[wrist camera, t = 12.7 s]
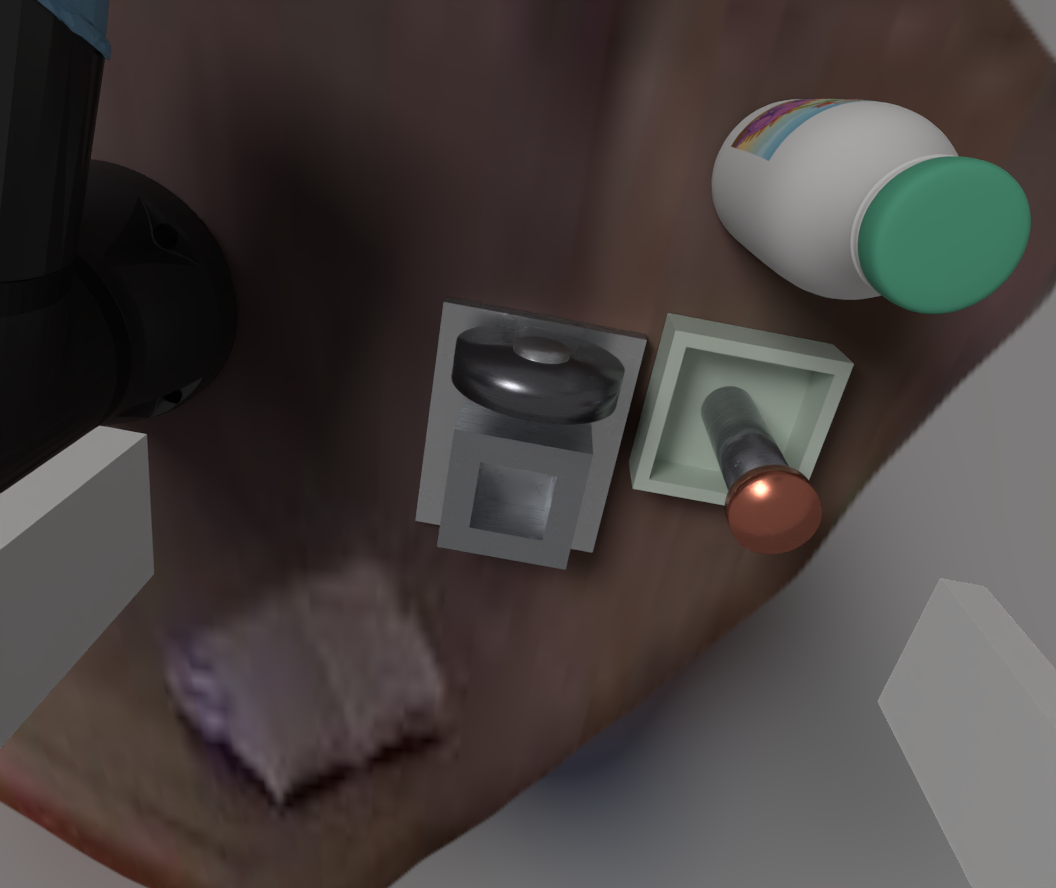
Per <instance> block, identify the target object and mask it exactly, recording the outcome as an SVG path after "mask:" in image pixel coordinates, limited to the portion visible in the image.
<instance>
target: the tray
mask: <svg viewBox="0 0 1056 888" xmlns="http://www.w3.org/2000/svg"><path fill="white" fill-rule="evenodd" d="M853 366H854V363H853V362H852V361H850V360H849V359H848V358H847V357H846V356H845V355H844V354H843V353H842V352H841V351H840V350H839V349H838V348H837V347H836V346H834V345H833V344H829V343H824V342H819V341H814V340H808V339H803V338H798V337H792V336H787V335H782V334H776V333H771V332H766V331H761V330H755V329H750V328H745V327H739V326H734V325H729V324H724V323H718V322H713V321H708V320H702V319H697V318H692V317H686V316H681V315H676V314H671V313H668V314H667V318H666V322H665V326H664V329H663V333H662V337H661V341H660V345H659V348H658V352H657V356H656V360H655V363H654V367H653V371H652V375H651V379H650V382H649V386H648V390H647V394H646V398H645V401H644V405H643V409H642V413H641V416H640V420H639V424H638V428H637V432H636V435H635V439H634V443H633V447H632V451H631V454H630V458H629V469H630V475H631V482H632V488H633V489H637V490H643V491H648V492H654V493H659V494H665V495H670V496H676V497H681V498H686V499H692V500H697V501H703V502H708V503H714V504H719V505H725V499H726V495H727V493H728V489H727V486H726V483H725V481H724V478H723V475H722V472H721V470H720V467H719V464H718V461H717V459H716V456H715V453H714V451H713V448H712V445H711V442H710V440H709V437H708V434H707V431H706V429H705V426H704V423H703V420H702V417H701V407H702V404H703V402H704V400H705V399H706V397H707V396H708V395H709V394H710V393H711V392H713V391H714V390H716V389H718V388H721V387H726V386H734V387H738V388H741V389H743V390H745V391H746V392H747V393H748V394H749V395H750V396H751V398H752V400H753V401H754V403H755V405H756V407H757V409H758V411H759V412H760V414H761V416H762V418H763V420H764V422H765V423H766V425H767V427H768V429H769V431H770V433H771V434H772V436H773V438H774V440H775V442H776V444H777V445H778V447H779V449H780V451H781V453H782V455H783V457H784V458H785V460H786V462H787V464H788V466H789V467H791V468H794V469H796V470H798V471H799V472H801V473H802V474H804V475H805V476H806V477H807V479H808V480H809V479H810V476H811V474H812V471H813V469H814V466H815V464H816V461H817V458H818V456H819V453H820V451H821V448H822V445H823V443H824V440H825V438H826V435H827V433H828V430H829V427H830V425H831V422H832V420H833V417H834V415H835V412H836V409H837V407H838V404H839V402H840V399H841V396H842V394H843V391H844V389H845V386H846V384H847V381H848V378H849V376H850V373H851V371H852V368H853Z"/></svg>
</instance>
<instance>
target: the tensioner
mask: <svg viewBox="0 0 1056 888" xmlns="http://www.w3.org/2000/svg"><path fill="white" fill-rule="evenodd" d="M646 342H647V339H646V336H645V334H642V333H637V332H631V331H626V330H621V329H615V328H610V327H605V326H599V325H594V324H589V323H583V322H578V321H573V320H567V319H562V318H557V317H551V316H546V315H541V314H536V313H530V312H525V311H520V310H514V309H509V308H504V307H498V306H493V305H488V304H482V303H477V302H472V301H466V300H461V299H456V298H450V297H446V299H445V301H444V303H443V311H442V319H441V326H440V334H439V342H438V350H437V357H436V365H435V373H434V381H433V388H432V396H431V404H430V412H429V419H428V427H427V435H426V443H425V450H424V458H423V466H422V474H421V481H420V489H419V497H418V505H417V512H416V520H415V521H419V522H425V523H431V524H436V525H440V529H439V536H438V543H437V547H442V548H447V549H453V550H458V551H464V552H470V553H475V554H481V555H486V556H492V557H497V558H503V559H509V560H514V561H520V562H525V563H531V564H537V565H542V566H548V567H553V568H559V569H564V570H566V566H567V562H568V558H569V553H570V549H575V550H580V551H586V552H592V553H593V549H594V545H595V541H596V537H597V533H598V529H599V525H600V521H601V518H602V514H603V510H604V506H605V502H606V498H607V494H608V490H609V486H610V482H611V478H612V475H613V471H614V467H615V463H616V459H617V455H618V451H619V447H620V443H621V439H622V435H623V432H624V428H625V424H626V420H627V416H628V412H629V408H630V404H631V400H632V396H633V392H634V389H635V385H636V381H637V377H638V373H639V369H640V365H641V361H642V357H643V353H644V349H645V346H646Z"/></svg>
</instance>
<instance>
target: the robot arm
mask: <svg viewBox="0 0 1056 888" xmlns="http://www.w3.org/2000/svg"><path fill="white" fill-rule="evenodd" d="M108 8H109V0H0V748H1V747H2V746H3V745H4V744H5V743H6V742H7V741H8V739H9V738H10V737H11V736H12V735H13V734H14V733H15V731H16V730H17V729H18V728H19V727H20V726H21V725H22V724H23V722H24V721H25V720H26V719H27V718H28V717H29V716H30V714H31V713H32V712H33V711H34V710H35V709H36V708H37V706H38V705H39V704H40V703H41V702H42V701H43V700H44V699H45V697H46V696H47V695H48V694H49V693H50V692H51V691H52V689H53V688H54V687H55V686H56V685H57V684H58V683H59V682H60V680H61V679H62V678H63V677H64V676H65V675H66V674H67V672H68V671H69V670H70V669H71V668H72V667H73V666H74V664H75V663H76V662H77V661H78V660H79V659H80V658H81V657H82V655H83V654H84V653H85V652H86V651H87V650H88V649H89V647H90V646H91V645H92V644H93V643H94V642H95V641H96V639H97V638H98V637H99V636H100V635H101V634H102V633H103V632H104V630H105V629H106V628H107V627H108V626H109V625H110V624H111V622H112V621H113V620H114V619H115V618H116V617H117V616H118V615H119V613H120V612H121V611H122V610H123V609H124V608H125V607H126V605H127V604H128V603H129V602H130V601H131V600H132V599H133V597H134V596H135V595H136V594H137V593H138V592H139V591H140V590H141V588H142V587H143V586H144V585H145V584H146V583H147V582H148V580H149V579H150V578H151V577H152V576H153V575H154V561H153V541H152V522H151V502H150V483H149V464H148V444H147V434H143V433H137V432H132V431H126V430H121V429H115V428H110V427H104V426H105V425H111V424H117V423H123V422H130V421H136V420H142V419H147V418H152V417H155V416H158V415H161V414H164V413H166V412H169V411H171V410H173V409H175V408H177V407H179V406H180V405H182V404H184V403H185V402H187V401H188V400H189V399H191V398H192V397H193V396H194V395H196V394H197V393H198V392H200V391H201V390H202V389H203V388H205V387H206V386H207V385H208V384H209V383H210V382H211V381H212V380H213V379H214V378H215V377H216V375H217V374H218V373H219V371H220V370H221V368H222V367H223V365H224V364H225V362H226V360H227V358H228V355H229V353H230V350H231V347H232V344H233V341H234V336H235V330H236V316H237V315H236V300H235V293H234V288H233V284H232V280H231V277H230V274H229V271H228V268H227V265H226V263H225V260H224V258H223V256H222V254H221V252H220V250H219V248H218V246H217V245H216V243H215V241H214V240H213V238H212V236H211V235H210V233H209V232H208V231H207V229H206V228H205V226H204V225H203V224H202V223H201V221H200V220H199V219H198V218H197V217H196V215H195V214H194V213H193V212H192V211H191V210H190V209H189V208H188V207H187V206H186V205H185V204H184V203H183V202H182V201H181V200H180V199H178V198H177V197H176V196H175V195H173V194H172V193H171V192H170V191H168V190H167V189H166V188H164V187H163V186H161V185H160V184H158V183H157V182H155V181H153V180H152V179H150V178H148V177H146V176H144V175H142V174H140V173H138V172H136V171H134V170H131V169H129V168H126V167H124V166H120V165H117V164H114V163H109V162H105V161H99V160H92V159H91V152H92V145H93V138H94V131H95V124H96V117H97V110H98V103H99V96H100V89H101V82H102V75H103V68H104V61H105V59H107V60H110V56H111V51H112V50H111V46H110V43H109V42H108V40H107V39H106V32H107V20H108ZM96 427H97V428H96ZM94 428H95V429H94ZM93 429H94V430H93ZM91 430H92V431H91ZM90 431H91V432H90ZM88 432H89V433H88ZM87 433H88V434H87ZM84 435H85V436H84ZM83 436H84V437H83ZM81 437H82V438H81ZM80 438H81V439H80ZM77 440H78V441H77ZM74 442H75V443H74ZM71 444H72V445H71ZM67 447H68V448H67ZM64 449H65V450H64ZM61 451H62V452H61ZM58 453H59V454H58ZM54 456H55V457H54ZM51 458H52V459H51ZM48 460H49V461H48ZM38 467H39V468H38ZM35 469H36V470H35ZM25 476H26V477H25ZM877 702H878V704H879V706H880V708H881V710H882V712H883V714H884V715H885V718H886V720H887V722H888V724H889V726H890V728H891V730H892V732H893V734H894V736H895V738H896V740H897V742H898V744H899V745H900V747H901V749H902V751H903V753H904V755H905V757H906V759H907V761H908V763H909V765H910V767H911V769H912V771H913V773H914V775H915V777H916V779H917V781H918V783H919V785H920V787H921V789H922V791H923V793H924V795H925V796H926V799H927V801H928V803H929V805H930V807H931V809H932V811H933V813H934V815H935V817H936V819H937V821H938V822H939V824H940V826H941V828H942V830H943V832H944V834H945V836H946V838H947V840H948V842H949V844H950V846H951V848H952V850H953V852H954V854H955V856H956V858H957V860H958V861H959V864H960V866H961V868H962V870H963V872H964V874H965V876H966V878H967V880H968V882H969V884H970V886H971V888H1056V669H1055V668H1054V667H1053V666H1052V665H1051V663H1050V662H1049V661H1048V660H1047V659H1046V658H1045V656H1044V655H1043V654H1042V653H1041V652H1040V651H1039V649H1038V648H1037V647H1036V646H1035V645H1034V643H1033V642H1032V641H1031V640H1030V639H1029V638H1028V636H1027V635H1026V634H1025V633H1024V632H1023V630H1022V629H1021V628H1020V627H1019V626H1018V625H1017V623H1016V622H1015V621H1014V620H1013V619H1012V617H1010V615H1009V614H1008V613H1007V612H1006V610H1005V609H1004V608H1003V607H1002V606H1001V605H1000V603H999V602H998V601H997V600H996V599H995V597H994V596H993V595H992V594H991V593H990V592H989V590H988V589H987V588H986V587H985V586H981V585H976V584H970V583H964V582H959V581H953V580H948V579H942V578H940V579H939V581H938V583H937V585H936V587H935V589H934V591H933V593H932V595H931V597H930V599H929V601H928V603H927V605H926V607H925V609H924V611H923V613H922V615H921V617H920V619H919V621H918V622H917V624H916V626H915V628H914V630H913V632H912V634H911V636H910V638H909V640H908V642H907V644H906V646H905V648H904V650H903V652H902V654H901V656H900V658H899V660H898V662H897V664H896V666H895V668H894V670H893V672H892V674H891V676H890V678H889V680H888V681H887V684H886V686H885V688H884V689H883V691H882V693H881V695H880V697H879V699H878V701H877Z"/></svg>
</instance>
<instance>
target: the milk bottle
mask: <svg viewBox="0 0 1056 888" xmlns="http://www.w3.org/2000/svg"><path fill="white" fill-rule="evenodd" d="M712 198H713V203H714V207H715V210H716V212H717V215H718V217H719V219H720V221H721V222H722V224H723V225H724V227H725V228H726V229H727V230H728V232H729V233H730V234H731V235H732V236H733V237H734V238H735V239H736V240H737V241H738V242H739V243H741V244H742V245H743V246H744V247H745V248H746V249H748V250H749V251H750V252H751V253H752V254H754V255H755V256H756V257H757V258H758V259H759V260H761V261H762V262H763V263H764V264H766V265H767V266H768V267H770V268H771V269H772V270H773V271H775V272H776V273H777V274H779V275H780V276H781V277H783V278H784V279H786V280H787V281H789V282H791V283H792V284H794V285H795V286H797V287H799V288H801V289H803V290H805V291H808V292H811V293H814V294H817V295H820V296H823V297H828V298H833V299H844V300H857V299H866V298H872V297H877V296H881V295H882V296H883V297H884V298H886V299H887V300H889V301H890V302H892V303H894V304H896V305H898V306H900V307H902V308H904V309H907V310H910V311H913V312H917V313H925V314H941V313H949V312H954V311H958V310H961V309H964V308H967V307H969V306H972V305H974V304H976V303H978V302H979V301H981V300H983V299H984V298H986V297H988V296H989V295H990V294H992V293H993V292H994V291H995V290H997V289H998V288H999V287H1000V286H1001V285H1002V284H1003V283H1004V282H1005V281H1006V280H1007V279H1008V277H1009V276H1010V275H1011V274H1012V272H1013V271H1014V270H1015V268H1016V267H1017V265H1018V263H1019V262H1020V260H1021V258H1022V256H1023V254H1024V251H1025V249H1026V246H1027V243H1028V239H1029V234H1030V226H1031V215H1030V208H1029V204H1028V201H1027V198H1026V195H1025V193H1024V192H1023V190H1022V188H1021V187H1020V185H1019V184H1018V183H1017V181H1016V180H1015V179H1014V178H1013V177H1012V176H1011V175H1010V174H1009V173H1007V172H1006V171H1005V170H1003V169H1002V168H1000V167H998V166H996V165H994V164H992V163H989V162H986V161H983V160H979V159H974V158H969V157H958V155H957V153H956V151H955V149H954V147H953V146H952V144H951V143H950V141H949V140H948V139H947V137H946V136H945V135H944V134H943V133H942V132H941V131H940V130H939V129H938V128H937V127H936V126H935V125H933V124H932V123H931V122H930V121H929V120H927V119H926V118H924V117H922V116H921V115H919V114H917V113H915V112H913V111H911V110H908V109H906V108H903V107H900V106H897V105H894V104H889V103H883V102H876V101H868V100H851V99H794V100H785V101H780V102H776V103H772V104H769V105H767V106H765V107H762V108H760V109H758V110H757V111H755V112H753V113H752V114H750V115H749V116H747V117H746V118H745V119H744V120H742V121H741V122H740V123H739V124H738V125H737V126H736V127H735V128H734V129H733V131H732V132H731V133H730V134H729V136H728V137H727V138H726V140H725V142H724V143H723V145H722V147H721V149H720V151H719V153H718V156H717V158H716V161H715V165H714V169H713V174H712Z"/></svg>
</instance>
